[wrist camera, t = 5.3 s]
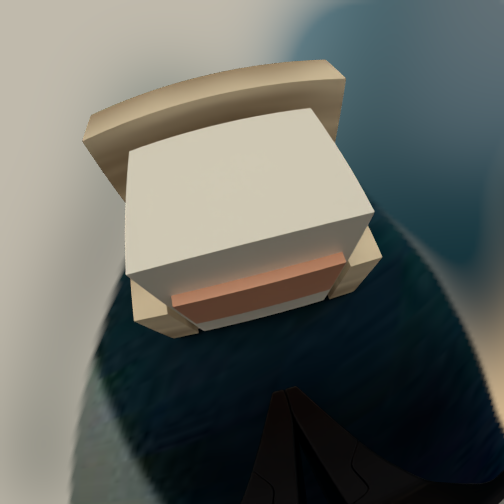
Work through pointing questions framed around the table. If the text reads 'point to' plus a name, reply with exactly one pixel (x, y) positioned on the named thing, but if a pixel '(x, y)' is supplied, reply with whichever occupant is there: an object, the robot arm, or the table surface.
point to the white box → (242, 218)
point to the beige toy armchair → (209, 114)
